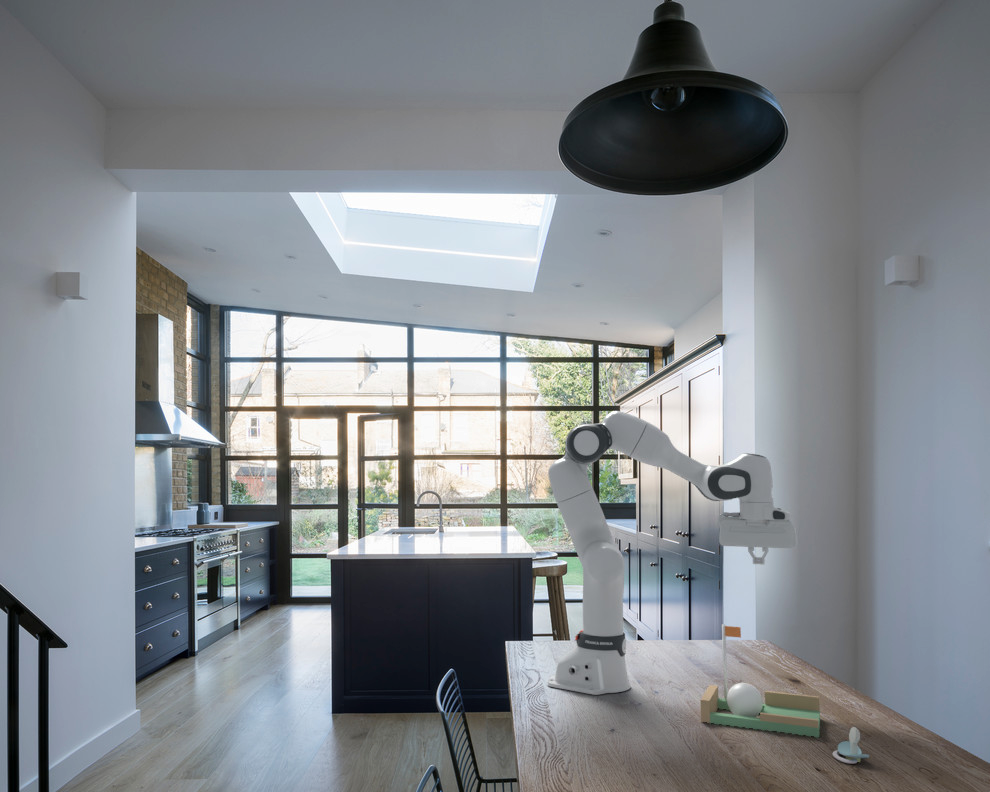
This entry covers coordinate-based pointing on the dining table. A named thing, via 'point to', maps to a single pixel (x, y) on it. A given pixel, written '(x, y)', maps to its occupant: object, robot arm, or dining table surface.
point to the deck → (776, 712)
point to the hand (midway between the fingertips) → (758, 564)
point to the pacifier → (850, 748)
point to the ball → (744, 700)
